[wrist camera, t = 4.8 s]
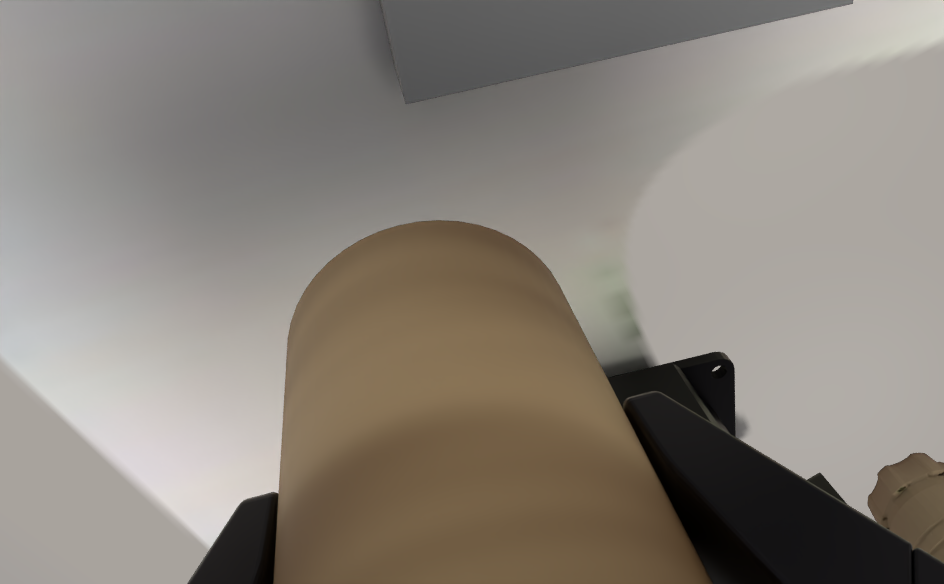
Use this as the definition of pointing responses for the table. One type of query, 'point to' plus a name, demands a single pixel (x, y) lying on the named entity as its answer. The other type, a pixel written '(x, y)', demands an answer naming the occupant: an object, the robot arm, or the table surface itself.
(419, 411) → the long peg
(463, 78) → the block
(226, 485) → the table surface
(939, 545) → the handle
